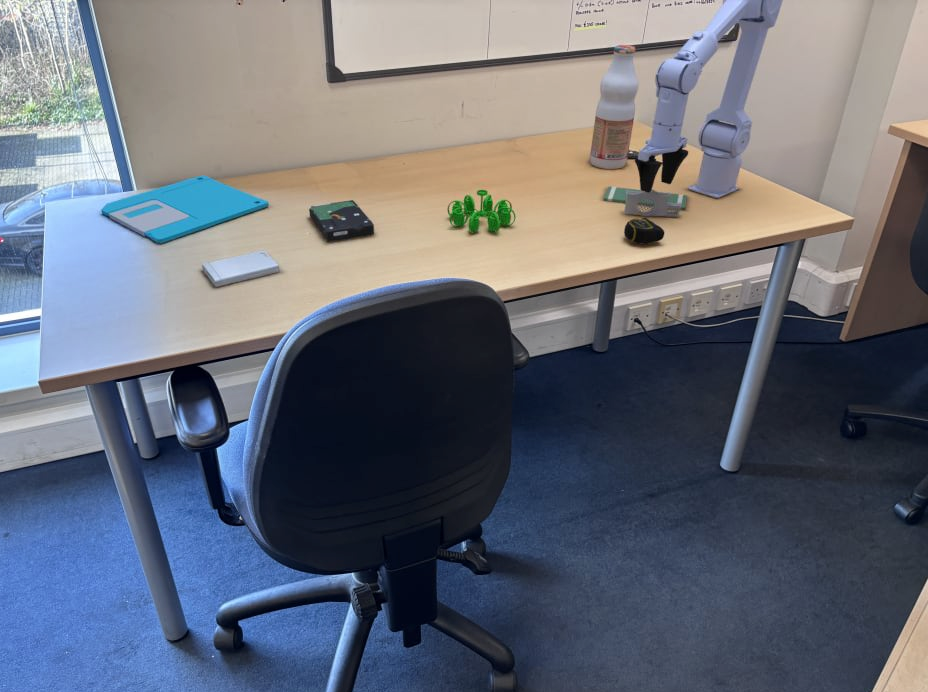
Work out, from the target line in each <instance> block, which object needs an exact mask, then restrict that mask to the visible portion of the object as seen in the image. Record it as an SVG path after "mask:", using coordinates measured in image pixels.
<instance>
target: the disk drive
mask: <svg viewBox="0 0 928 692" xmlns="http://www.w3.org/2000/svg"><path fill="white" fill-rule="evenodd" d="M308 212H309V217H310V219H311V221H312V222H313V223H314V225H315V226H316V227H317V230H318V231H319V232H320V234H321V235H322V237H323V238H324V239H325V241H326V242H328V243H329V242H331V243H332V242H339V241H345V240H352V239H360V238H365V237H370V236H374V235H375V224H374V223H373V222H372V220H371V219H370V218H369V217H368V215H367V214H366V213H365V212H364V211H363V210H362V208H360V206H359V205H358V203H356V201H354V199H350V200H344V201H337V202H335V201H334V202H330V203H326V204H322V205H316V206H315V205H311V206H310V208H308Z"/></svg>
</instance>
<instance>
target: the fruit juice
mask: <svg viewBox="0 0 928 692" xmlns="http://www.w3.org/2000/svg"><path fill="white" fill-rule="evenodd" d="M635 53H636V46H634V45H629V44H618V45H615V46H614V47H613V55H614V56H613V59H612V61H611V64H610V65H609V68H608V70H607V71H606V73H605V75H604V76H603V77H602V79H601V81H600V84H599V93H600V97H599V98H600V99H599V101H598V102H597V104H596V110H595V116H594V122H593V123H594V125H593V131H592V138H591V147H590V153H589V163H590V164H591V165H592V166H593V167H596V168H599V169H605V170H618V169H621V168H624V167H625V166H626V165H627V162H628V158H629V151H630V145H631V139H632V134H633V133H632V132H633V127H634V120H635V115H636V102H635V99H636V97H637V94H638V91H639V87H640V85H639V84H640V83H639V80H638V77H637V74H636V71H635V64H634V56H635Z"/></svg>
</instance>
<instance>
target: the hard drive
mask: <svg viewBox="0 0 928 692" xmlns="http://www.w3.org/2000/svg"><path fill="white" fill-rule="evenodd" d="M201 267H202V272H203V273H204V274H205V275H206V277H207V278H208V279H209V281H210V282H211V283H212V284H213V286H214V287H215V288H218V287H222V286H225V285H230V284H235V283H238V282H239V283H240V282H242V281H243V282H244V281H246V280H251V279H256V278H259V277H263V276H267V275H271V274H276V273H279V272H281V271H280V270H281V269H280V266H279V264H278V262H277V261H276V260H274V258H273V257H272V256H271V255H270V254H268V253H267V251H266V250H258V251H255V252H250V253H246V254H241V255H236V256H232V257H228V258H224V259H218V260H216V261H215V260H214V261H210V262H206V263H202V264H201Z"/></svg>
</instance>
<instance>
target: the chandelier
mask: <svg viewBox="0 0 928 692" xmlns="http://www.w3.org/2000/svg"><path fill="white" fill-rule="evenodd" d="M488 193H489V192H488V190H486V189H479V190H477V191H476V195H477V196H480V207H479V208H480V209H479V210H478V209H477V208H476V205H475V201H474V197H473V196H472V195H470V194H466V195H464V198H463V201H462V200H458V199H456V200H452V201H451V202H450V203H449V204H448V205H447V214H448V216H449V223H450V225H451V226H452V227H453V228H458V229H459V228H461V227H464V226H465V225H466V223H467V222H468V230H469V231H470V233H471V234H475V233H476V232H477V231H479V229H480V218H483V217H485V218H486V219H487V228H488V230H489V231H490V232H491V233H493V234H496V233H499V230H500V227H501V226H502V227H505V228H507V227H510V226H512V225H513V224H515V221H516V217H517V216H516V213H515V211H514V209H513V205H512V203H511V201H510V200H508V199H501V200H499V201H498V202H496V203H495V205H494V201H493V198H492V195H491V194H488ZM485 196H486V197H485ZM451 204H452V207H451V212H450V206H451ZM508 204H509V206H508ZM493 207H494V208H493ZM496 210H497V211H496ZM511 213H512V214H513V221H512V222H511V218H512V214H511ZM452 220H453V222H452Z"/></svg>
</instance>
